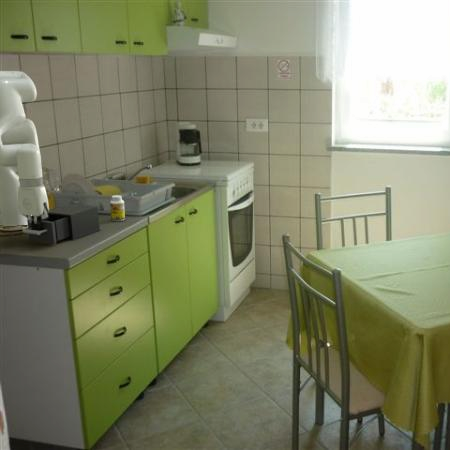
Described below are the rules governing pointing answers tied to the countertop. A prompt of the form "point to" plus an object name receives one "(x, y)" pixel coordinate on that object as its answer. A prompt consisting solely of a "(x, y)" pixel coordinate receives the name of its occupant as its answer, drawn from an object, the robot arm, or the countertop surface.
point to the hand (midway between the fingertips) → (37, 233)
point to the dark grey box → (79, 219)
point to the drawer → (50, 229)
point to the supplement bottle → (117, 208)
